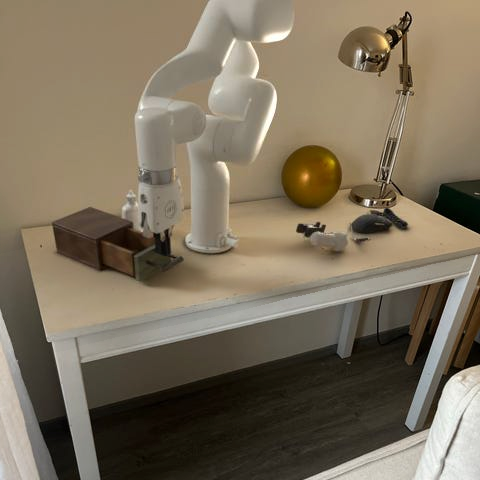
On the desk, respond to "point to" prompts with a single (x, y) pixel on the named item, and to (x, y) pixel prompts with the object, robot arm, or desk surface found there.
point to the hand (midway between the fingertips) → (163, 253)
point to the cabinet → (86, 234)
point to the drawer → (135, 254)
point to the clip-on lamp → (326, 236)
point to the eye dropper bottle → (131, 211)
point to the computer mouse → (376, 221)
